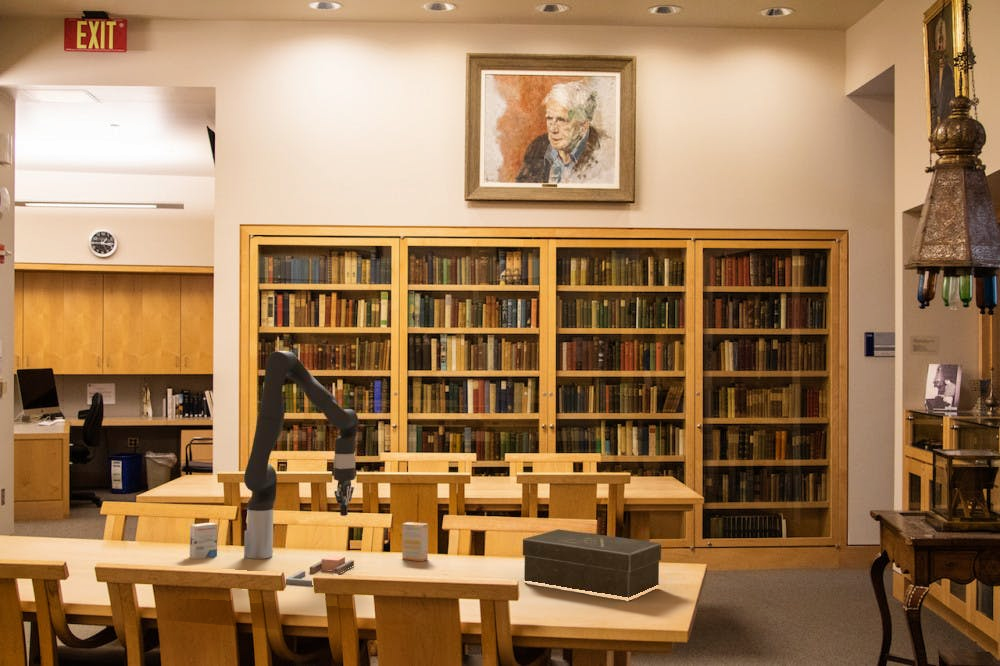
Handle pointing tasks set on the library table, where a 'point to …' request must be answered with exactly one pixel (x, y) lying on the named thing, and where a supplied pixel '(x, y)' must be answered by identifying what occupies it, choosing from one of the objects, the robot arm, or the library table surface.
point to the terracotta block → (332, 562)
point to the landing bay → (296, 579)
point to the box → (592, 562)
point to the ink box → (203, 540)
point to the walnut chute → (336, 570)
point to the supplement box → (415, 541)
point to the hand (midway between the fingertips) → (343, 515)
